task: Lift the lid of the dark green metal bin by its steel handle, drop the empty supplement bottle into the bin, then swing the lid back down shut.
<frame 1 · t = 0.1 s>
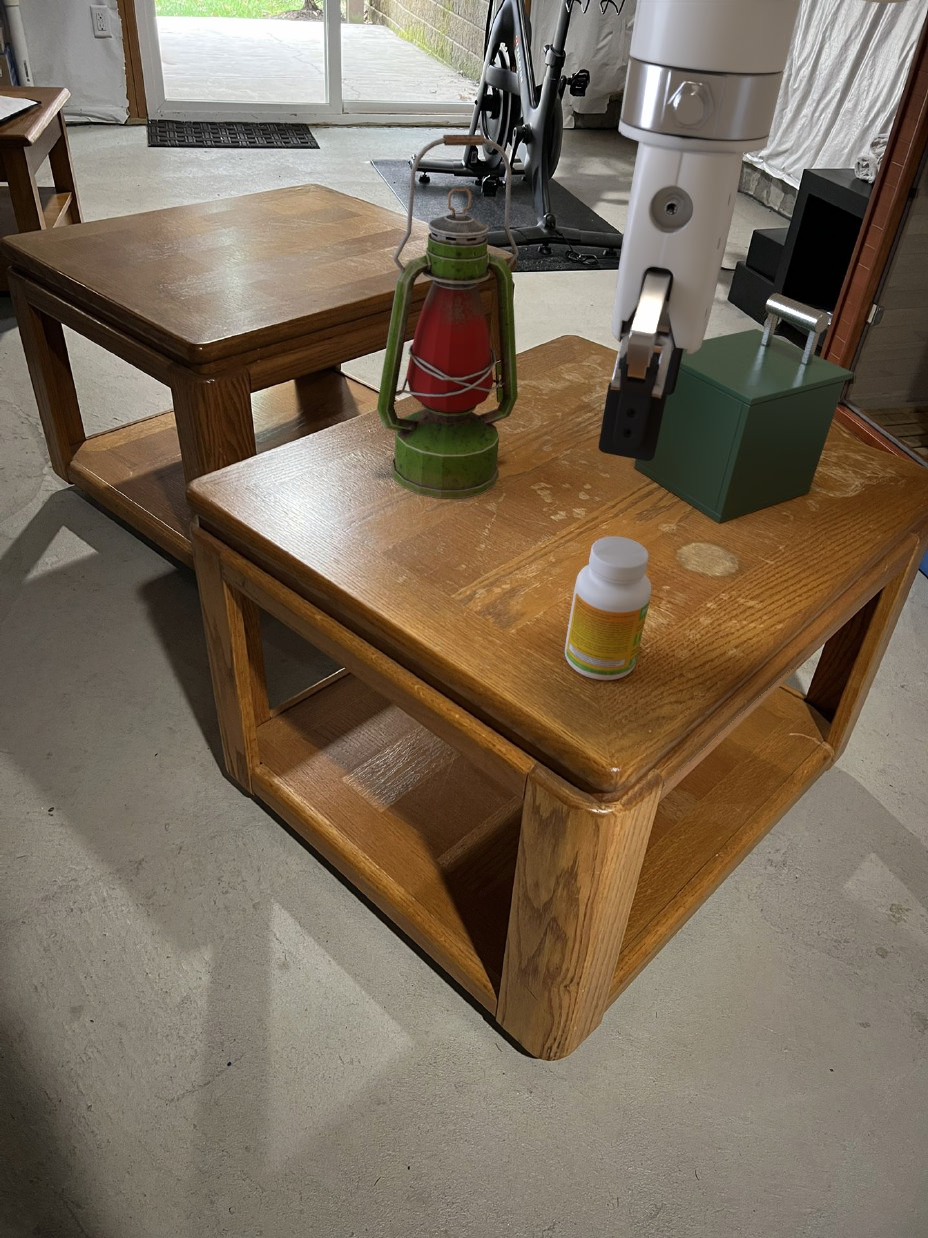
hand: (638, 420, 57), 20 cm above the table, tool pointing down, fingers open, 9 cm apart
supplement bottle: (599, 661, 70), on the table
bin lid: (760, 338, 85), point 15 cm above the table, hinge at 0.0°
bin: (720, 480, 94), on the table
lantern: (445, 473, 92), on the table
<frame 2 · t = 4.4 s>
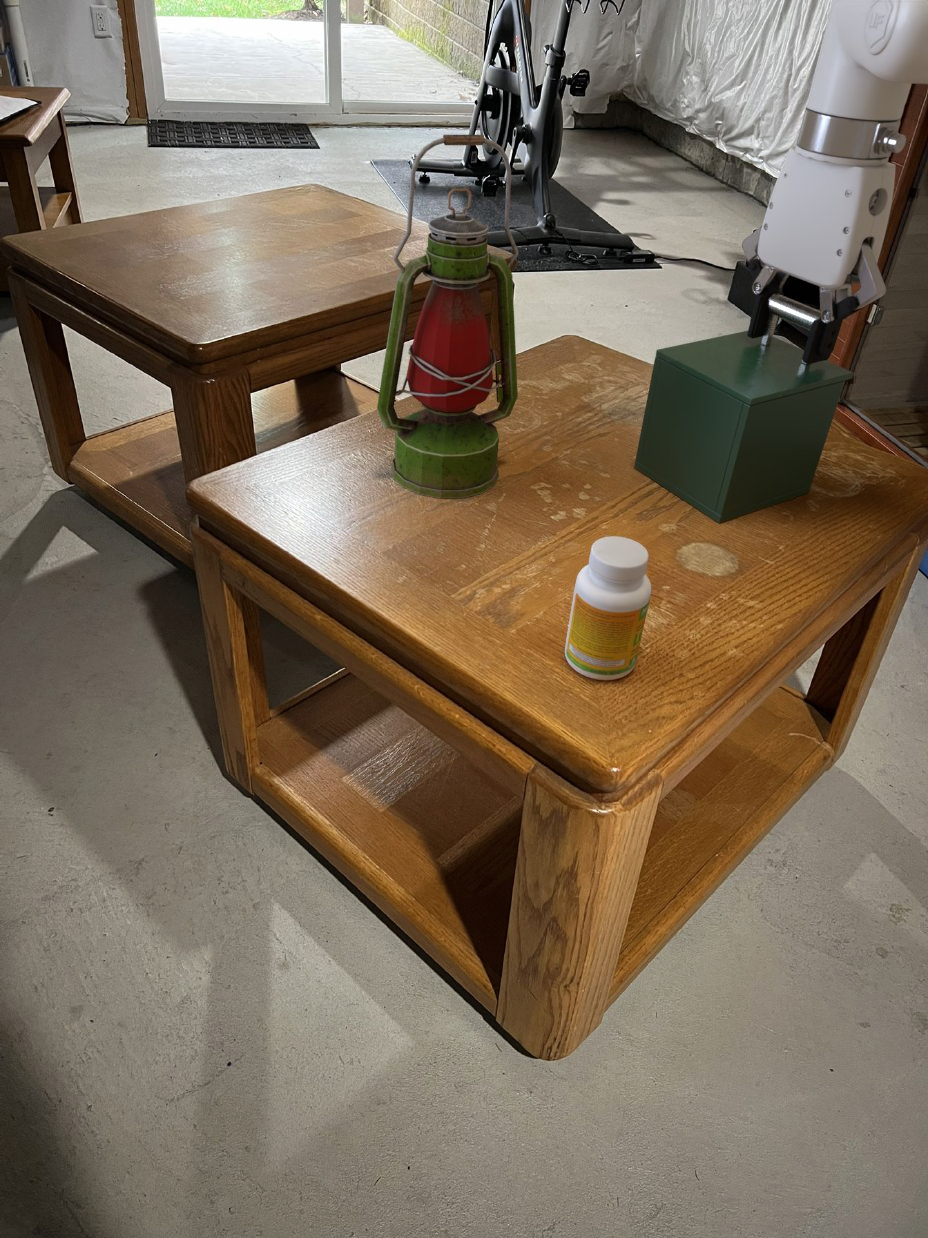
hand: (787, 346, 88), 13 cm above the table, tool pointing down, fingers closed on bin lid, 6 cm apart
bin lid: (760, 338, 85), point 15 cm above the table, hinge at 0.0°, touching gripper
everything else where it was.
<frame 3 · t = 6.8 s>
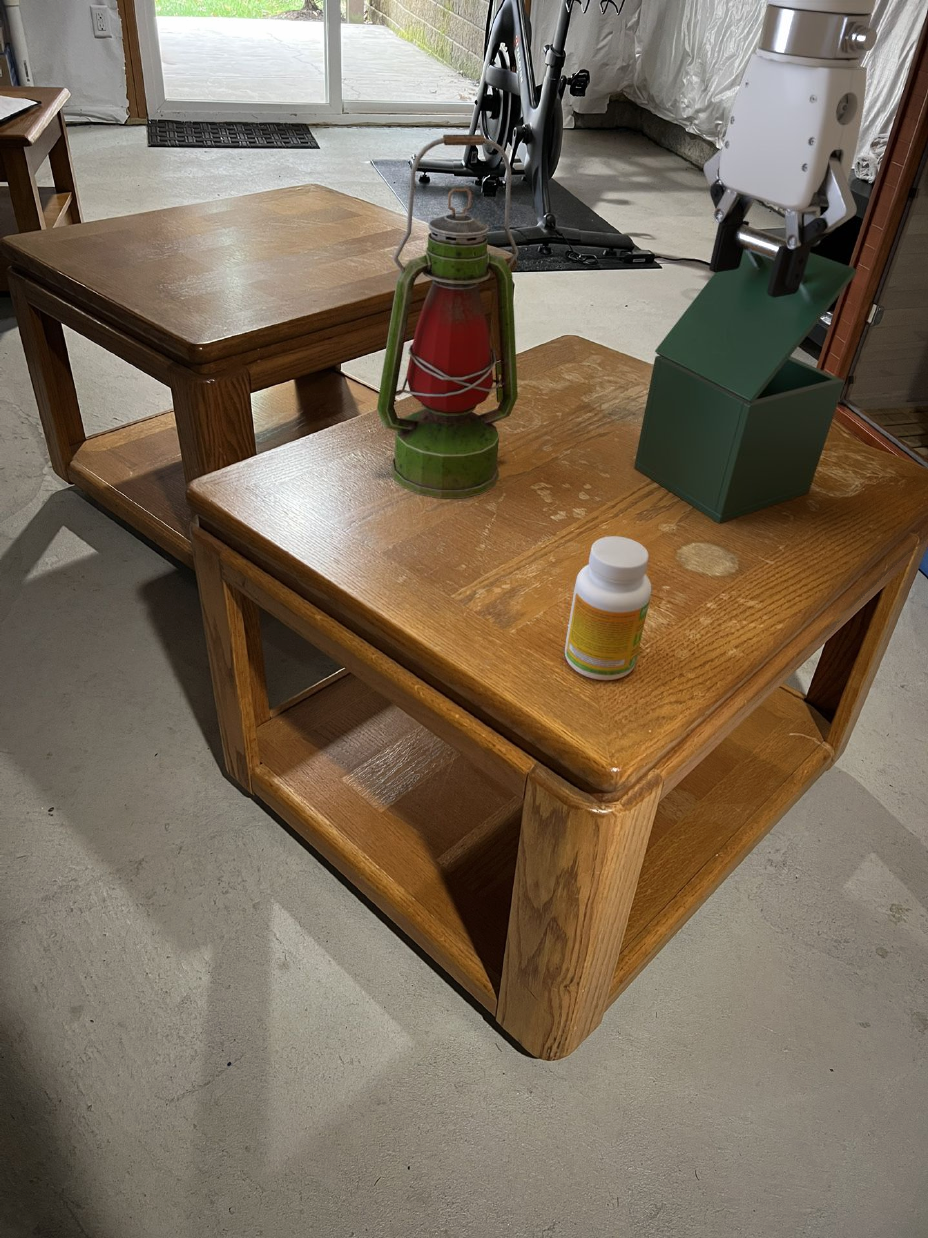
hand: (752, 279, 81), 20 cm above the table, tool pointing down, fingers closed on bin lid, 6 cm apart
bin lid: (740, 298, 81), point 19 cm above the table, hinge at 48.1°, touching gripper
everything else where it was.
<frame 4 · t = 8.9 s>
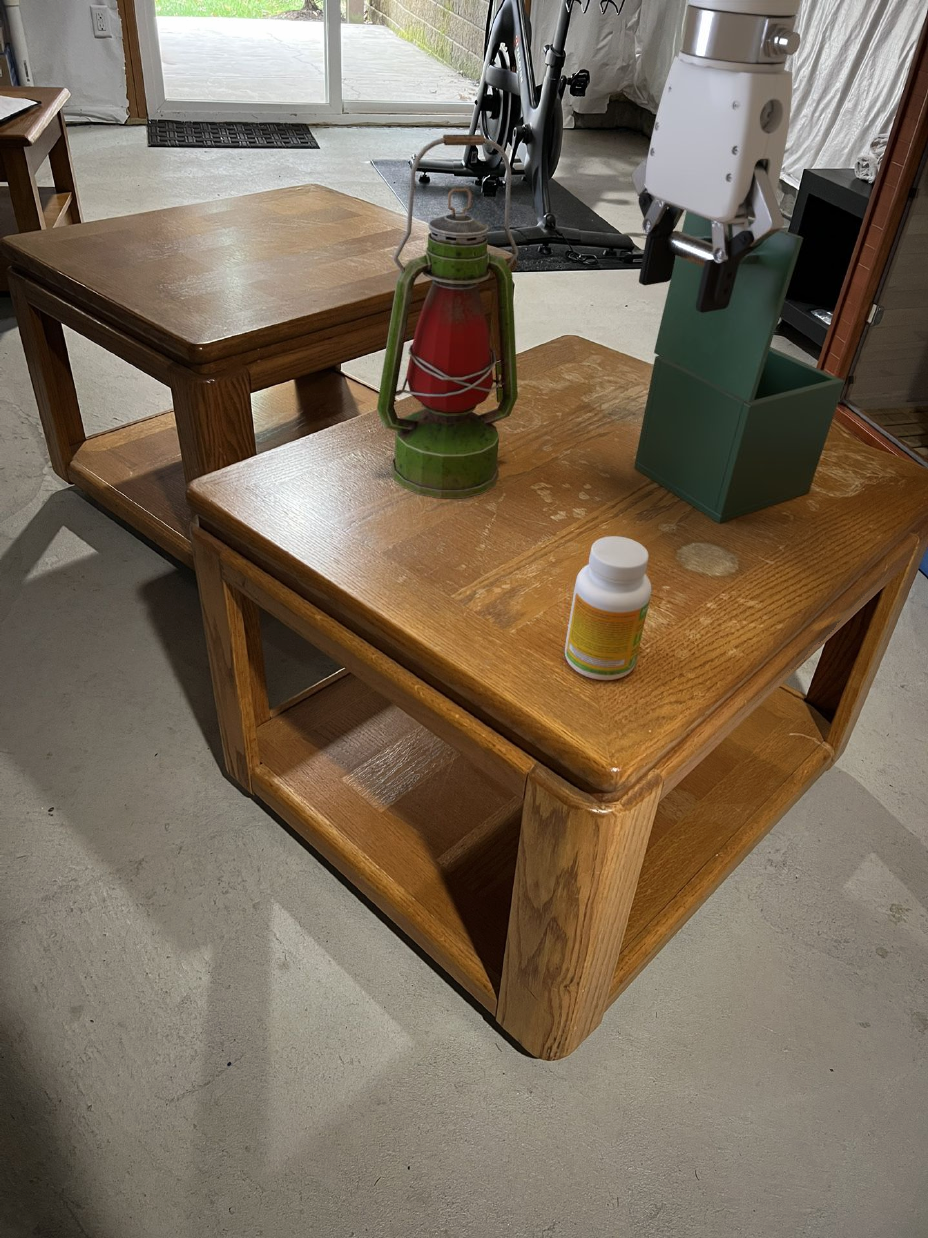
hand: (682, 293, 77), 20 cm above the table, tool pointing down, fingers closed on bin lid, 6 cm apart
bin lid: (701, 302, 79), point 19 cm above the table, hinge at 86.9°, touching gripper
everything else where it was.
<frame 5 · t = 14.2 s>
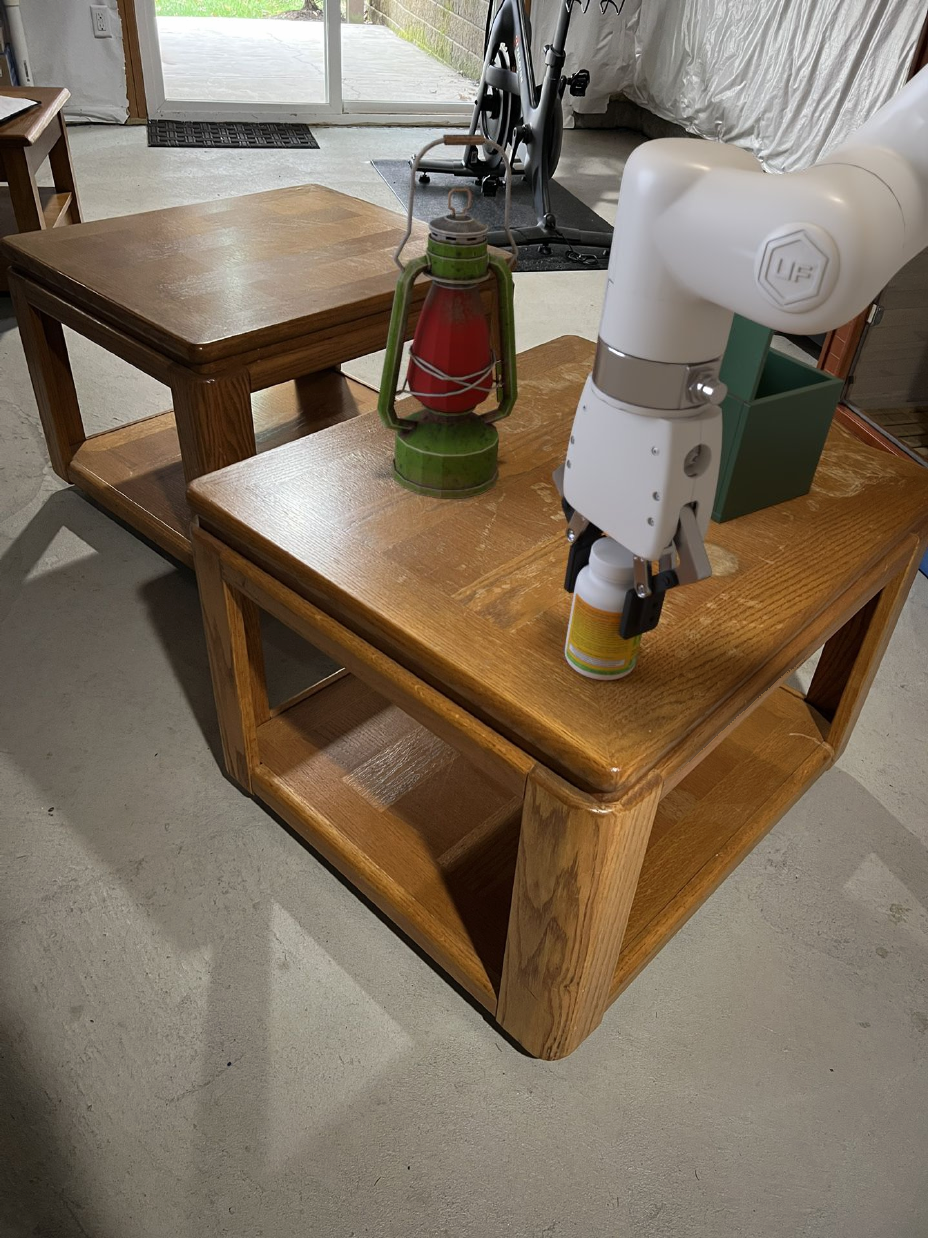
hand: (609, 606, 67), 5 cm above the table, tool pointing down, fingers closed on supplement bottle, 5 cm apart
supplement bottle: (599, 661, 70), on the table, touching gripper
bin lid: (701, 302, 79), point 19 cm above the table, hinge at 87.1°
everything else where it was.
when the fingers open (20 cm above the table, at t = 22.6 s): supplement bottle drops 14 cm, resting on bin.
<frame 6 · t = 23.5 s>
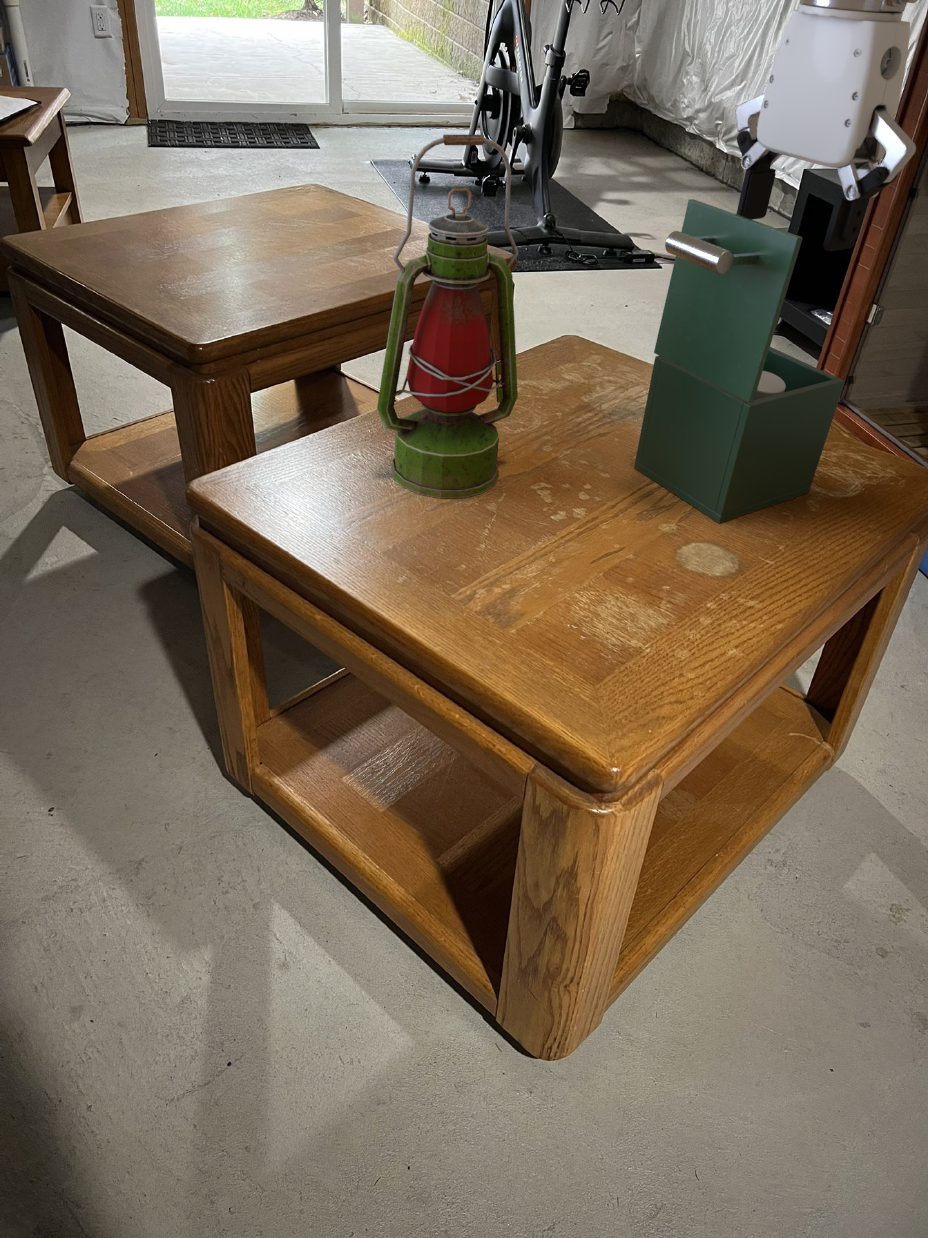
hand: (792, 232, 80), 24 cm above the table, tool pointing down, fingers open, 9 cm apart
supplement bottle: (732, 466, 94), point 1 cm above the table, touching bin
everything else where it was.
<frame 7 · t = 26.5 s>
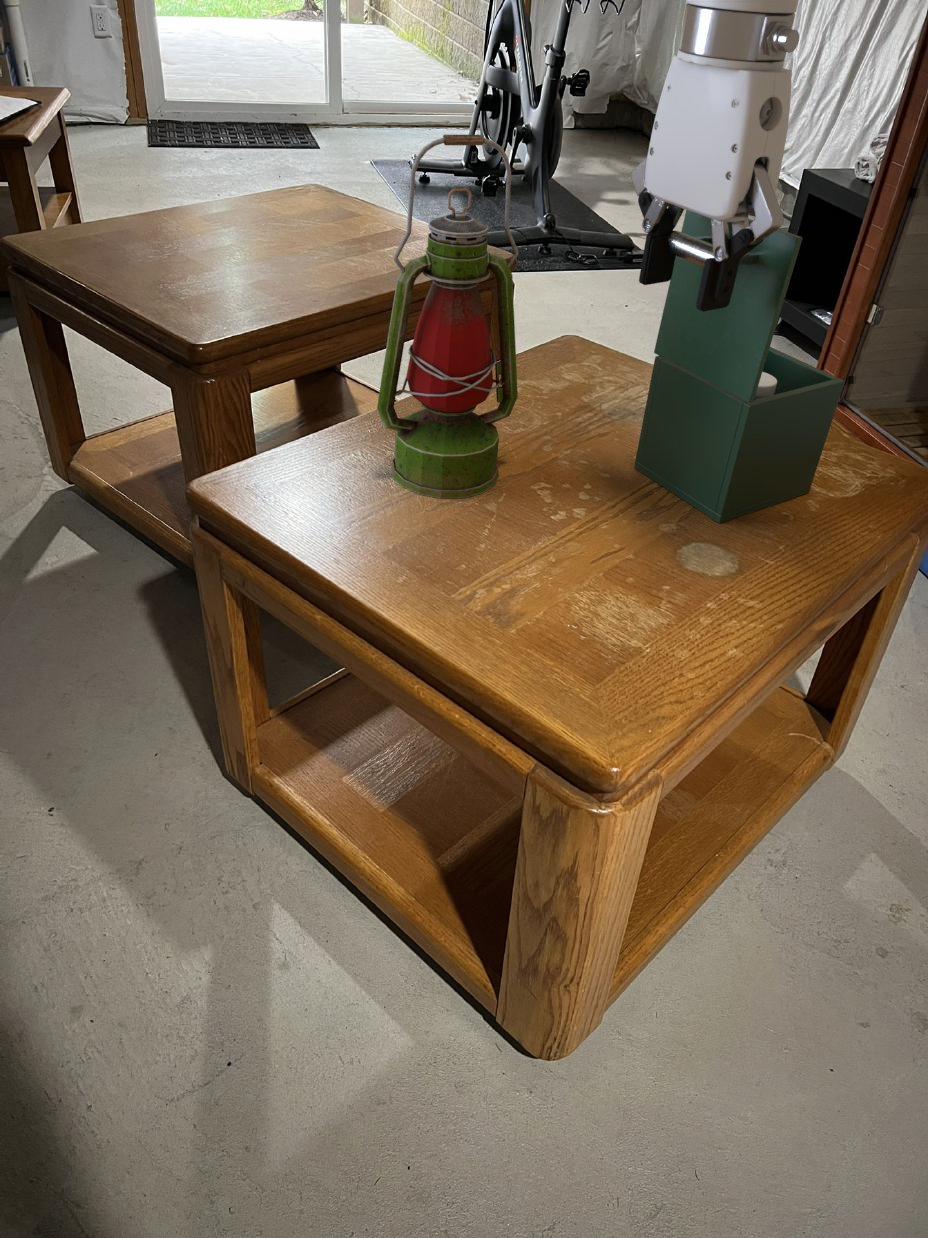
hand: (682, 292, 77), 20 cm above the table, tool pointing down, fingers closed on bin lid, 6 cm apart
bin lid: (701, 302, 79), point 19 cm above the table, hinge at 87.1°, touching gripper
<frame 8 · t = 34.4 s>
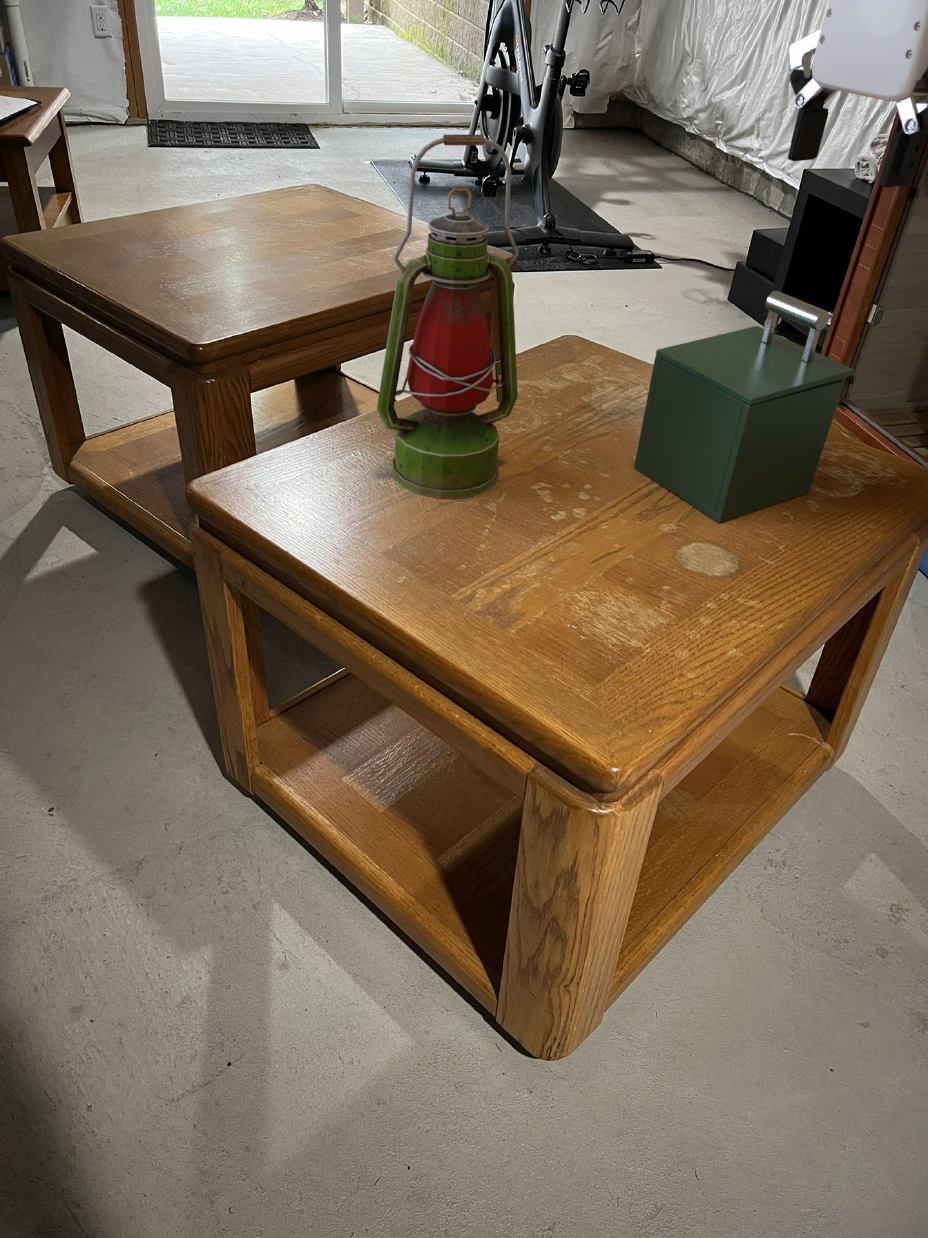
hand: (845, 171, 80), 28 cm above the table, tool pointing down, fingers open, 9 cm apart
bin lid: (760, 337, 85), point 15 cm above the table, hinge at 1.3°
everything else where it was.
at the end: supplement bottle inside the target area in the bin (1.7 cm from its centre), point 0.6 cm above the bin's base; bin lid reached +87° during the clip, +1° at the end; bin lid at +1° (first picture: +0°) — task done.
